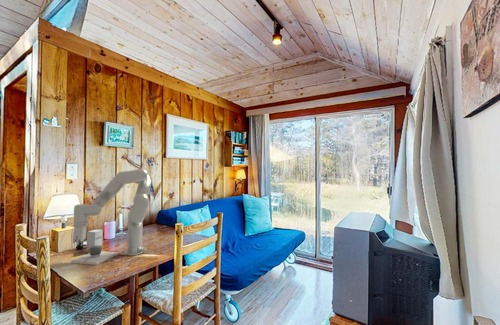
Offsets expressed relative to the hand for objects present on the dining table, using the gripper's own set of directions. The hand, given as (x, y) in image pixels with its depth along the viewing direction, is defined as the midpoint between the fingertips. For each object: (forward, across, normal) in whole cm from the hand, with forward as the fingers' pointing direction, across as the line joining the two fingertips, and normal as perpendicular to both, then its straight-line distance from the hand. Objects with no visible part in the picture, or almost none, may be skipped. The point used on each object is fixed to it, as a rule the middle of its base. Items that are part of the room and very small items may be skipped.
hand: (79, 252), depth 152 cm
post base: (+6, -2, +8) cm, 10 cm away
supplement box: (+6, -27, +2) cm, 28 cm away
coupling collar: (+2, 0, +5) cm, 5 cm away
